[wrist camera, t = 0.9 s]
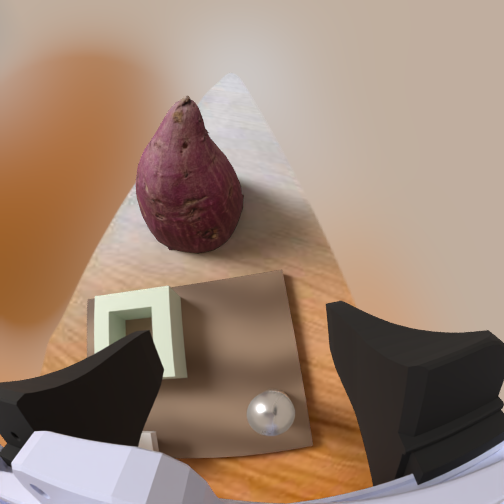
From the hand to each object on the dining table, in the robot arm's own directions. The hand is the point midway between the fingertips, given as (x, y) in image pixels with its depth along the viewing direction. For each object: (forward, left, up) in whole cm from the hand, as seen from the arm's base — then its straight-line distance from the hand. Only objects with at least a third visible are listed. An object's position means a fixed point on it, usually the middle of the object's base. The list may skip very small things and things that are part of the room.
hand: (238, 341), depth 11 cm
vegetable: (+16, +4, -13) cm, 21 cm away
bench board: (0, +6, -13) cm, 15 cm away
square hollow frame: (+3, +9, -13) cm, 16 cm away
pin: (-4, -1, -12) cm, 13 cm away
